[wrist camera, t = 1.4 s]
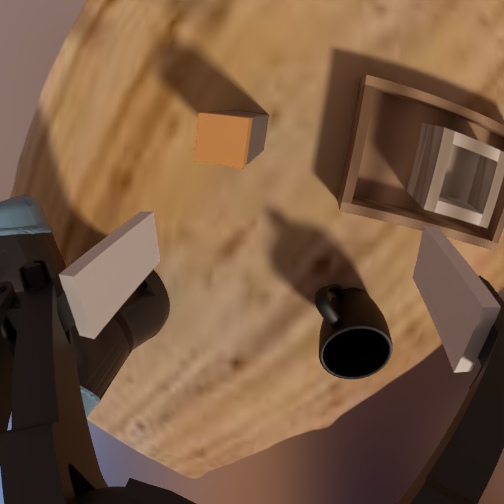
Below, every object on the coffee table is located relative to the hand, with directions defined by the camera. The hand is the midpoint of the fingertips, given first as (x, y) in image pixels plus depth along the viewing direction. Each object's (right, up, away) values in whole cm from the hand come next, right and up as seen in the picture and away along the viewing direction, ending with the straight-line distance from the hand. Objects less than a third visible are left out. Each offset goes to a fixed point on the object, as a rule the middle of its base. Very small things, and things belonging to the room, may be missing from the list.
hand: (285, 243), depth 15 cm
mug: (+10, -6, +25) cm, 28 cm away
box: (+19, +10, +16) cm, 26 cm away
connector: (-2, +13, +19) cm, 23 cm away
